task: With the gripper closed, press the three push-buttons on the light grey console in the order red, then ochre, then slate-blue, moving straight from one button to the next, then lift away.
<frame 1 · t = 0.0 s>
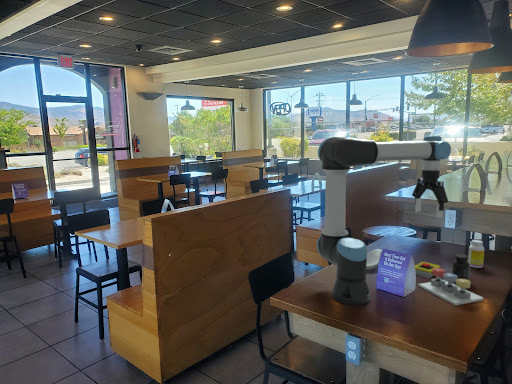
hand: (428, 214, 180), 28 cm above the table, tool pointing down, fingers open, 13 cm apart
supplement bottle: (460, 281, 171), on the table
ochre button: (463, 285, 153), point 6 cm above the table, slide at 0.0 cm
emergency button: (426, 273, 184), on the table
spoon rest: (372, 265, 194), on the table
slate button: (450, 280, 159), point 6 cm above the table, slide at 0.0 cm
console: (449, 292, 160), on the table
red button: (438, 274, 165), point 6 cm above the table, slide at 0.0 cm
supplement bottle 2: (475, 266, 191), on the table
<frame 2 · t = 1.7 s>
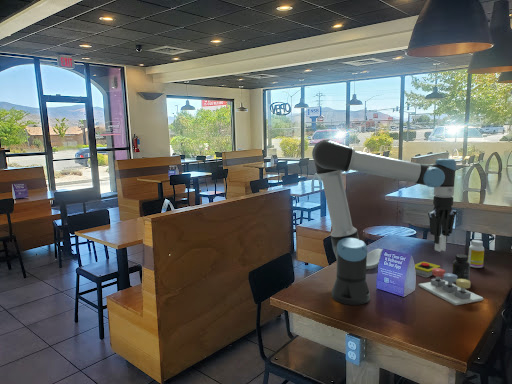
hand: (440, 250, 163), 16 cm above the table, tool pointing down, fingers closed
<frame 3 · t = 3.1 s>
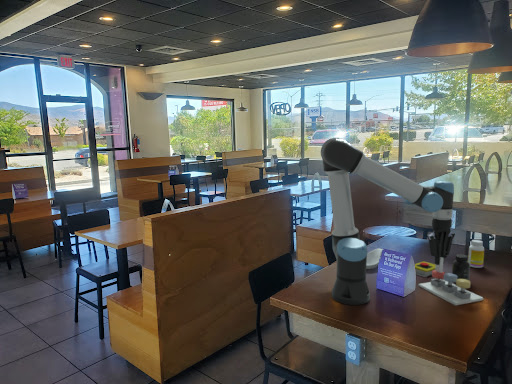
hand: (439, 271, 165), 7 cm above the table, tool pointing down, fingers closed
red button: (438, 276, 165), point 5 cm above the table, slide at 0.9 cm, touching gripper
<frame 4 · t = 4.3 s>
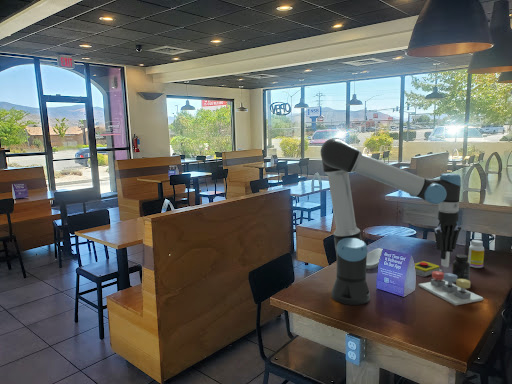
hand: (444, 266, 161), 10 cm above the table, tool pointing down, fingers closed
red button: (438, 277, 165), point 4 cm above the table, slide at 1.4 cm
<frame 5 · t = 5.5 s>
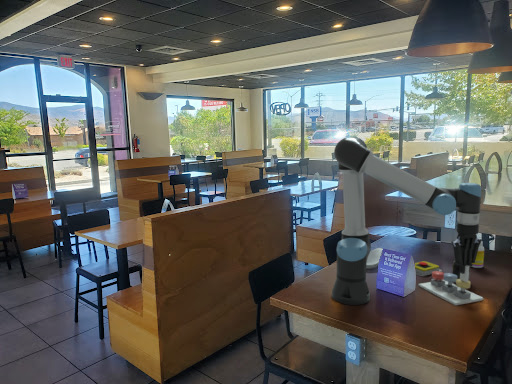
hand: (463, 280, 152), 8 cm above the table, tool pointing down, fingers closed
ochre button: (463, 286, 153), point 6 cm above the table, slide at 0.1 cm, touching gripper
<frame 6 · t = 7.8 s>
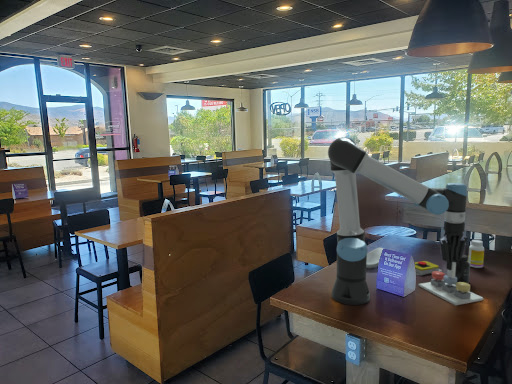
hand: (450, 276, 158), 7 cm above the table, tool pointing down, fingers closed
ochre button: (462, 289, 153), point 4 cm above the table, slide at 1.4 cm
slate button: (450, 282, 159), point 5 cm above the table, slide at 0.9 cm, touching gripper
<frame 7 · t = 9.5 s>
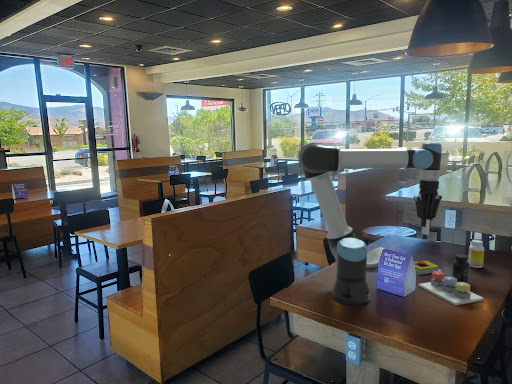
hand: (425, 233, 165), 23 cm above the table, tool pointing down, fingers closed
slate button: (450, 283, 159), point 4 cm above the table, slide at 1.4 cm
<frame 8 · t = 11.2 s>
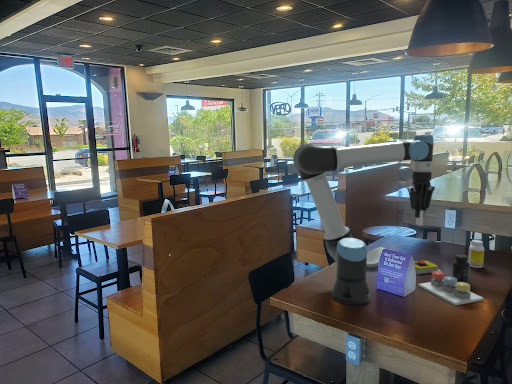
hand: (419, 224, 167), 26 cm above the table, tool pointing down, fingers closed
at the end: red button slide at 1.4 cm; ochre button slide at 1.4 cm; slate button slide at 1.4 cm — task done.
